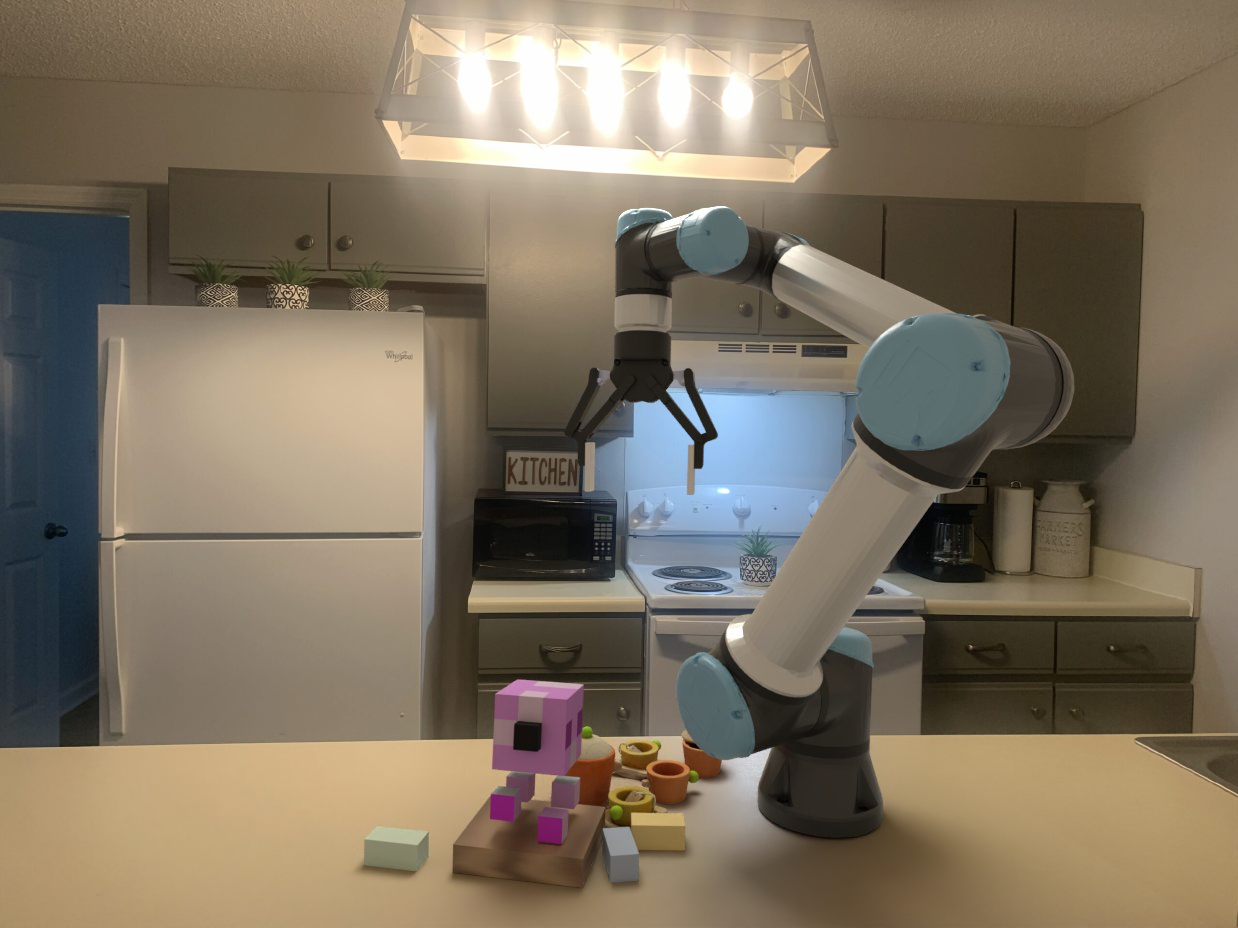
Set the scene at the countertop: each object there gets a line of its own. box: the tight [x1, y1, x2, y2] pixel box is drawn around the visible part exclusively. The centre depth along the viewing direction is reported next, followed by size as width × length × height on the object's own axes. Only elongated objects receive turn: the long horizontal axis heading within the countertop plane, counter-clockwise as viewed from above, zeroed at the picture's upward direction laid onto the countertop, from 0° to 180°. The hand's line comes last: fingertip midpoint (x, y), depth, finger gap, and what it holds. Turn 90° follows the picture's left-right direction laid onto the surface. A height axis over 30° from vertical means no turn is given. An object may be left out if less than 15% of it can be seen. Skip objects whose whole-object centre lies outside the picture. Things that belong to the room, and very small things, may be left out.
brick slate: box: [601, 827, 640, 883], centre depth 88 cm, size 6×3×3 cm, turn 9°
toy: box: [490, 679, 585, 844], centre depth 91 cm, size 11×8×15 cm
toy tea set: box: [565, 726, 723, 830], centre depth 108 cm, size 26×16×10 cm, turn 144°
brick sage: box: [363, 825, 430, 872], centre depth 88 cm, size 6×3×3 cm, turn 80°
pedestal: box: [452, 794, 606, 889], centre depth 91 cm, size 14×12×3 cm
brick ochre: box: [631, 812, 686, 851], centre depth 93 cm, size 6×3×3 cm, turn 90°
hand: (639, 492), depth 109 cm, fingers open, 13 cm apart
